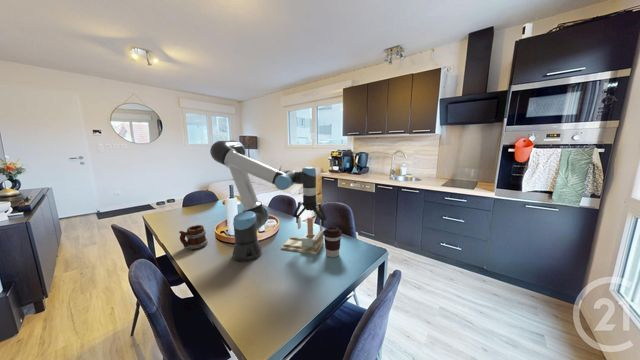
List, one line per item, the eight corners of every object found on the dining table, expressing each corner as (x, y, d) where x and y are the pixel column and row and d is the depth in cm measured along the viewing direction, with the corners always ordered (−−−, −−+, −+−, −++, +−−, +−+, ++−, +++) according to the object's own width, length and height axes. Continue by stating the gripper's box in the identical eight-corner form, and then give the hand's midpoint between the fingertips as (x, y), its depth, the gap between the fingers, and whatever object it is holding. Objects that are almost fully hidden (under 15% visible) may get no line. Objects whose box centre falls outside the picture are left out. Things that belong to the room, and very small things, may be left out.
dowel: (307, 243, 128) (306, 218, 125) (308, 240, 131) (308, 216, 128) (312, 243, 127) (311, 219, 124) (313, 241, 130) (313, 217, 127)
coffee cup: (340, 259, 115) (340, 233, 112) (322, 258, 117) (321, 231, 114) (342, 250, 124) (342, 226, 122) (325, 249, 126) (325, 224, 124)
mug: (213, 243, 135) (207, 221, 130) (191, 257, 123) (184, 234, 119) (202, 239, 141) (195, 218, 136) (180, 252, 129) (172, 230, 124)
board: (280, 249, 127) (280, 235, 126) (290, 238, 140) (290, 226, 139) (316, 254, 121) (316, 240, 119) (323, 243, 134) (323, 230, 133)
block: (301, 246, 126) (301, 238, 125) (306, 240, 134) (306, 232, 133) (314, 248, 124) (314, 239, 123) (319, 242, 132) (318, 234, 131)
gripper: (286, 194, 124) (287, 229, 127) (329, 197, 116) (329, 234, 120) (292, 191, 131) (293, 224, 134) (332, 194, 123) (332, 229, 127)
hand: (310, 229), depth 127 cm, fingers open, 13 cm apart
